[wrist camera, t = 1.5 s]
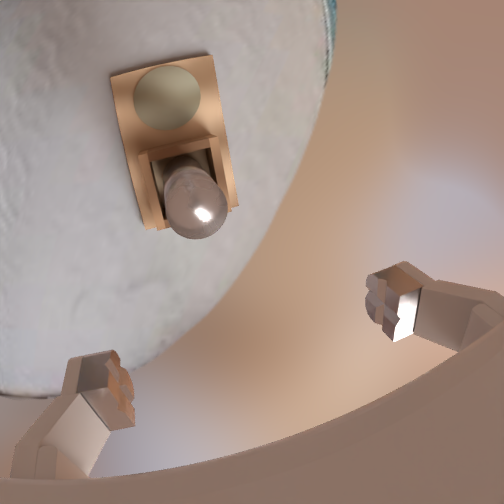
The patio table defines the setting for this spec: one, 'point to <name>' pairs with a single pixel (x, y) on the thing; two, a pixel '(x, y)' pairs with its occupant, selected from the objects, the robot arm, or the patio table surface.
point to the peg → (192, 199)
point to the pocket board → (171, 129)
